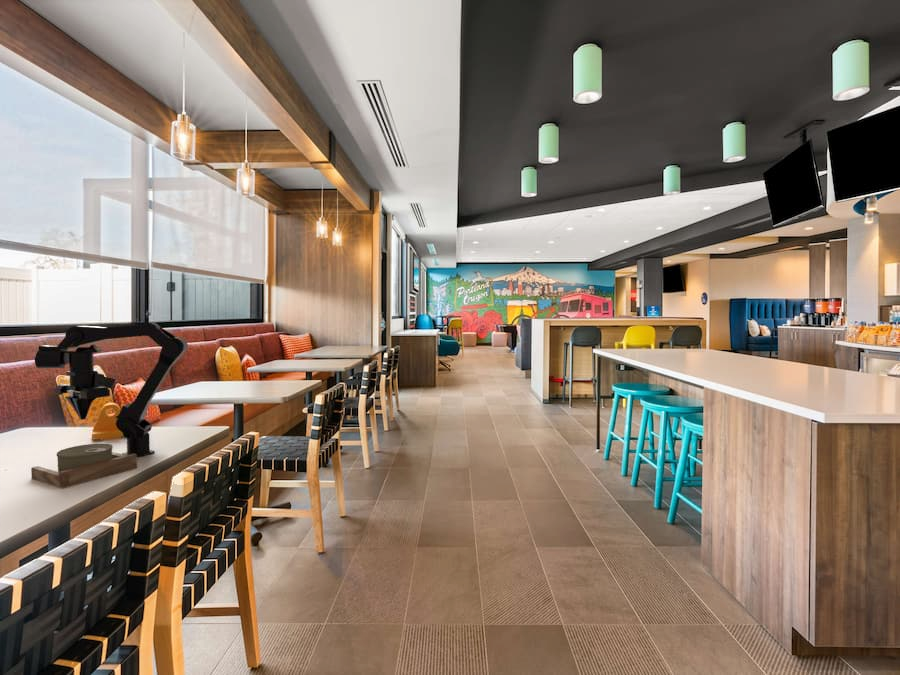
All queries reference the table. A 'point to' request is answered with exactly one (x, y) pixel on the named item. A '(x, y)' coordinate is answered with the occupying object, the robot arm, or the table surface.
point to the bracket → (107, 424)
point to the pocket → (85, 471)
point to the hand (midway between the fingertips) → (82, 419)
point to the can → (83, 455)
